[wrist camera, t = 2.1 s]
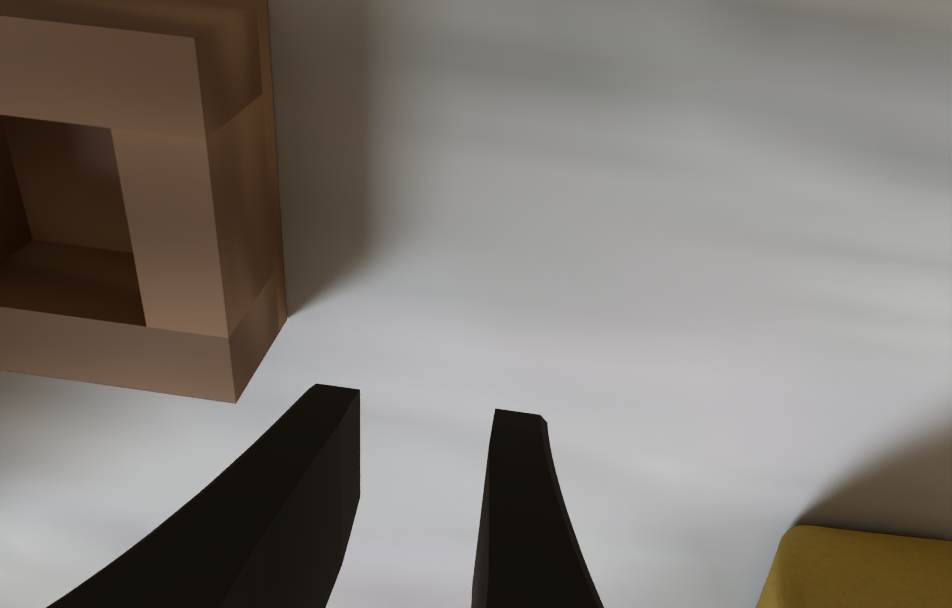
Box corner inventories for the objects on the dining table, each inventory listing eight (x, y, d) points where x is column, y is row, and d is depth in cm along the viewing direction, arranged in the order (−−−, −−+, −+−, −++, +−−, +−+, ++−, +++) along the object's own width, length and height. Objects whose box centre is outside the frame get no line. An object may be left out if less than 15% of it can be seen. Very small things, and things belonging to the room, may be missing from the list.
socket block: (286, 319, 20) (236, 403, 17) (-3, 280, 21) (-101, 355, 18) (267, -1, 16) (193, 37, 13) (-98, -41, 16) (-248, -13, 13)
